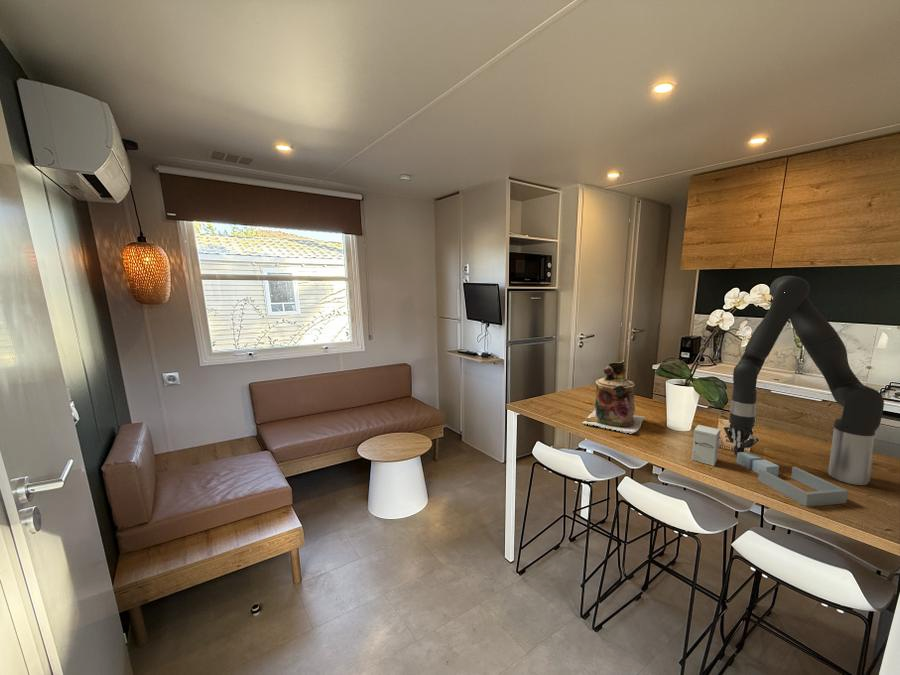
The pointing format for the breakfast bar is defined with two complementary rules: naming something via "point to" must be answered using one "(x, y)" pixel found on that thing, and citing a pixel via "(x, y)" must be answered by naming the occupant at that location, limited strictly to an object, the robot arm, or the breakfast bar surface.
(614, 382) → the cookie jar
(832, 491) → the tray
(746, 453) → the tile
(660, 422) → the breakfast bar surface
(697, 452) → the supplement box
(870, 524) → the breakfast bar surface
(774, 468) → the tile
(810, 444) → the breakfast bar surface
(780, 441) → the breakfast bar surface
